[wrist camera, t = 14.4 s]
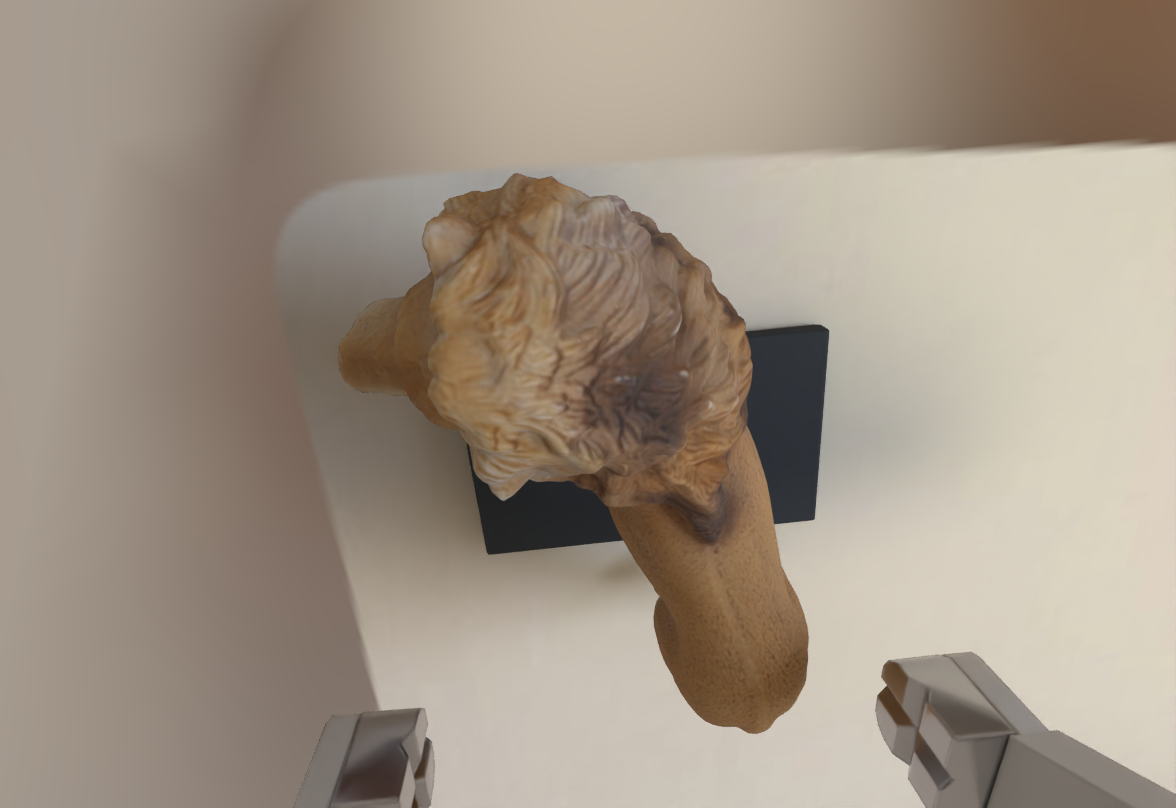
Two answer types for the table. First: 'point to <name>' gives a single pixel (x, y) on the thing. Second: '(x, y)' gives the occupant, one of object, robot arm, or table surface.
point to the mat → (776, 423)
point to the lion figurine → (606, 413)
